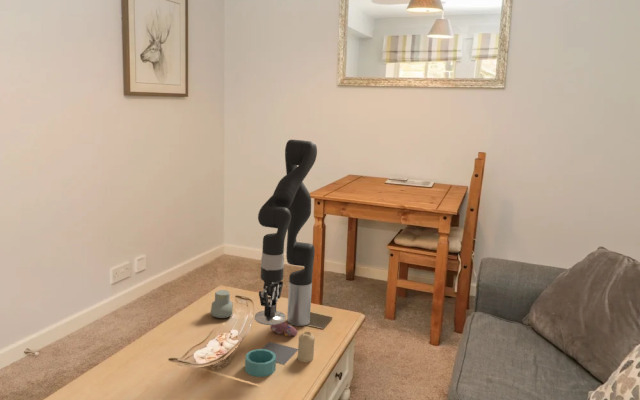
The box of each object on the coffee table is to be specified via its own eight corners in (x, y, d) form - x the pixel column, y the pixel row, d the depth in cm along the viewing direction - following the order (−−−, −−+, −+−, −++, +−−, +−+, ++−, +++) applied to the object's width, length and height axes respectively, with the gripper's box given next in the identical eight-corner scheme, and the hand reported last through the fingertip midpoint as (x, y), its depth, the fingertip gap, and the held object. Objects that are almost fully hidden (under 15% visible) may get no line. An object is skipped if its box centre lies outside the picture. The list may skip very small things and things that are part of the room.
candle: (311, 364, 179) (312, 338, 177) (295, 362, 180) (297, 335, 178) (314, 357, 185) (316, 331, 182) (299, 354, 186) (301, 328, 183)
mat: (269, 343, 193) (269, 341, 192) (298, 350, 188) (298, 349, 188) (253, 357, 182) (253, 356, 182) (284, 366, 177) (284, 364, 177)
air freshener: (212, 309, 218) (213, 287, 216) (232, 309, 219) (233, 287, 217) (210, 321, 208) (210, 297, 206) (231, 321, 209) (231, 297, 207)
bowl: (254, 359, 180) (254, 346, 179) (280, 366, 177) (280, 353, 176) (239, 373, 171) (239, 359, 170) (266, 381, 168) (267, 367, 167)
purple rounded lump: (271, 336, 201) (267, 325, 197) (275, 327, 204) (272, 315, 200) (294, 342, 198) (291, 330, 193) (298, 333, 201) (296, 321, 197)
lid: (263, 310, 182) (264, 297, 181) (290, 316, 178) (291, 302, 178) (248, 320, 173) (249, 307, 172) (277, 327, 169) (277, 313, 168)
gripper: (271, 258, 180) (269, 305, 183) (252, 269, 167) (250, 319, 170) (291, 261, 177) (289, 309, 180) (272, 273, 164) (270, 324, 167)
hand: (270, 314), depth 175 cm, fingers closed on lid, 3 cm apart
